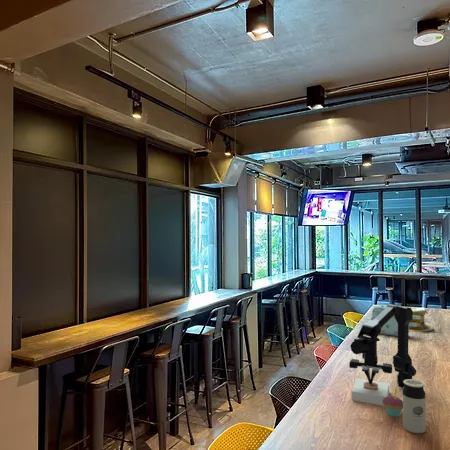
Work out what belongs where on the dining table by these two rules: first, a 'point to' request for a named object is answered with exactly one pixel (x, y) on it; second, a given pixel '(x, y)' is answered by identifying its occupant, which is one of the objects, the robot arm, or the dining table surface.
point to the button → (370, 386)
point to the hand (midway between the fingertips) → (370, 384)
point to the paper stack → (419, 321)
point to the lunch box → (390, 326)
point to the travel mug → (414, 406)
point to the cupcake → (393, 405)
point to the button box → (369, 392)
